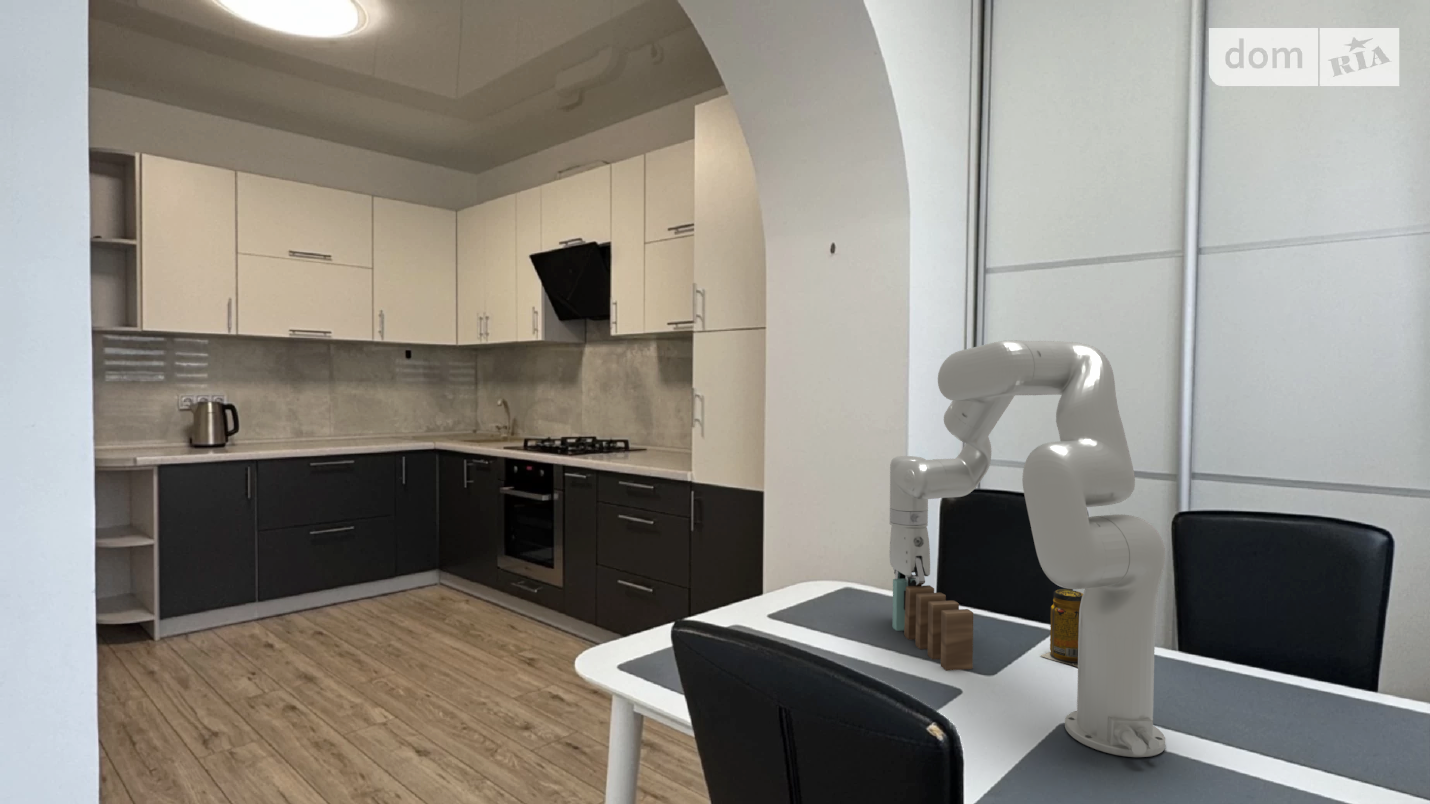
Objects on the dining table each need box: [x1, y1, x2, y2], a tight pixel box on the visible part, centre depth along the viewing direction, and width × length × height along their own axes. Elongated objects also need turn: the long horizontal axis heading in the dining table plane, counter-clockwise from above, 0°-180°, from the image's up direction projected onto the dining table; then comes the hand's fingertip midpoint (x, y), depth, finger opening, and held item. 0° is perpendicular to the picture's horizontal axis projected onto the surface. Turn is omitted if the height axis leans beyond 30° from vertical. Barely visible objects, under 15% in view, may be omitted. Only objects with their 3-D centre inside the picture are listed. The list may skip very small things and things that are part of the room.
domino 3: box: [915, 592, 947, 650], centre depth 142 cm, size 2×5×10 cm, turn 100°
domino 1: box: [892, 578, 915, 632], centre depth 152 cm, size 2×5×10 cm, turn 99°
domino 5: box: [940, 608, 974, 671], centre depth 131 cm, size 2×5×10 cm, turn 100°
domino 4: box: [927, 600, 960, 660], centre depth 137 cm, size 2×5×10 cm, turn 99°
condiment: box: [1040, 588, 1084, 668], centre depth 136 cm, size 7×8×12 cm
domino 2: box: [903, 584, 935, 641], centre depth 147 cm, size 2×5×10 cm, turn 100°
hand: (907, 606), depth 152 cm, fingers open, 3 cm apart
